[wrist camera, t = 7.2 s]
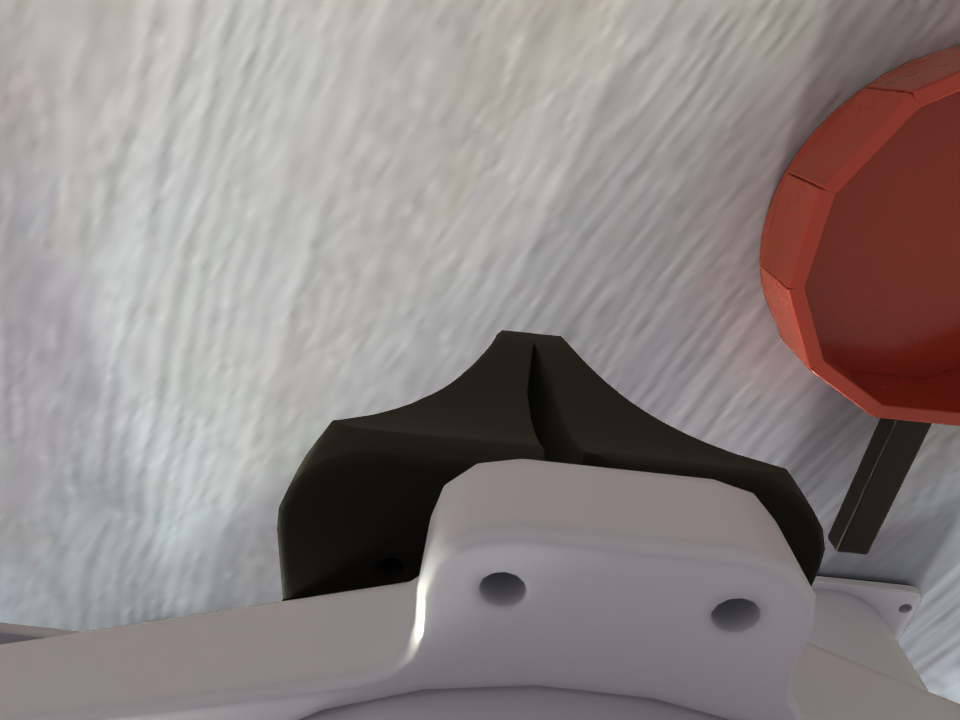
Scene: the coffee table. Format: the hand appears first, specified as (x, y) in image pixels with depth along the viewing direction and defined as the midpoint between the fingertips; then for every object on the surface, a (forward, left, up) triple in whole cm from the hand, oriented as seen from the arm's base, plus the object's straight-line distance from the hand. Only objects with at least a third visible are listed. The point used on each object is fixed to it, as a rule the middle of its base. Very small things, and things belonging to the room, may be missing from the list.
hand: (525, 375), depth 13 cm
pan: (-1, -13, -9) cm, 16 cm away
